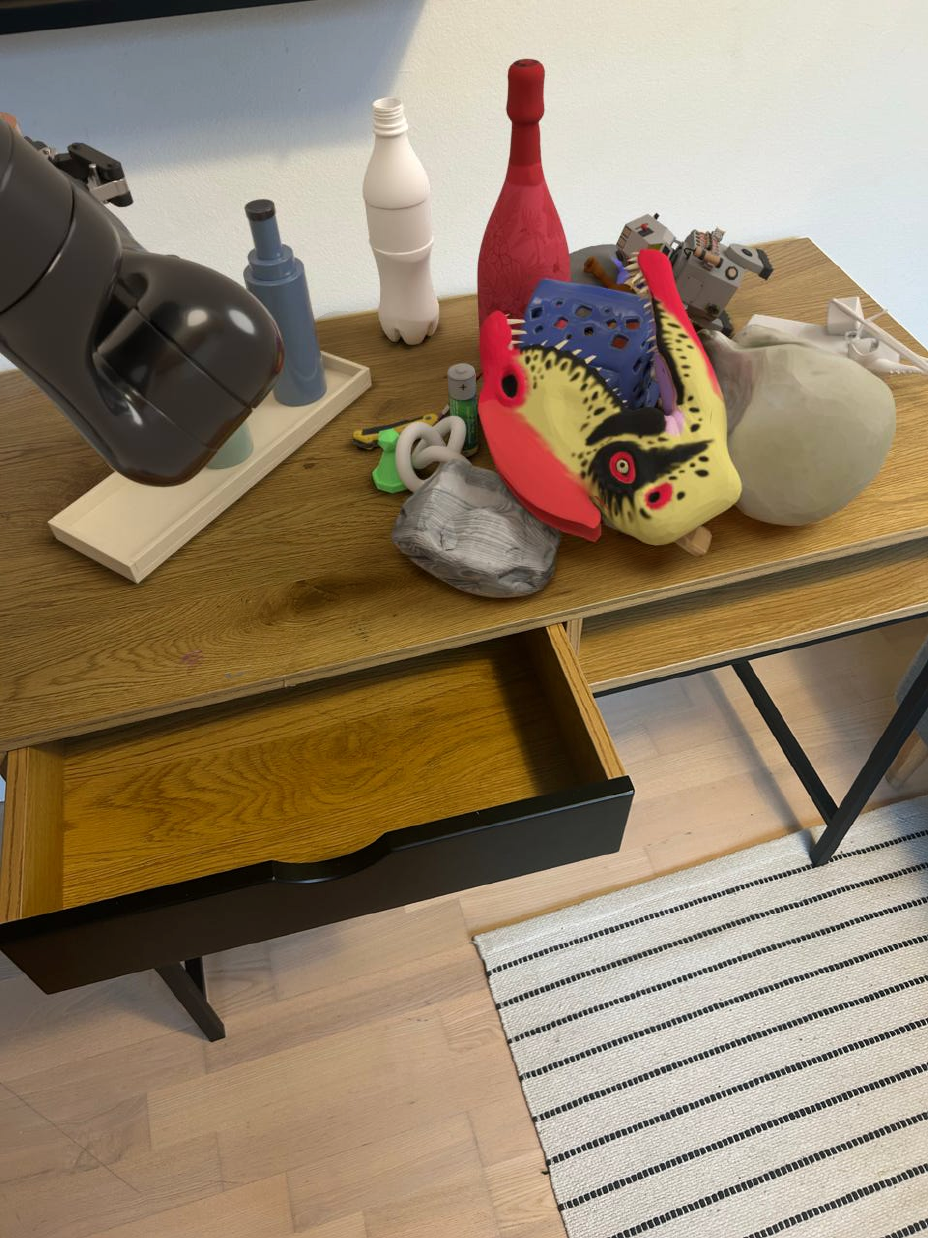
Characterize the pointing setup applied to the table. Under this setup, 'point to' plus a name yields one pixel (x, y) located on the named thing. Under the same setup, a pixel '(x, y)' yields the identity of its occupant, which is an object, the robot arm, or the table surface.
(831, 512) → the skull
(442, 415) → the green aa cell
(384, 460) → the game piece
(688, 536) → the sandal
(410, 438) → the knot
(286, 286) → the slate-blue bottle
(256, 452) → the tray
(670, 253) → the figurine
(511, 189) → the wine bottle
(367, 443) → the utility knife
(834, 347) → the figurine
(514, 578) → the decorative stone
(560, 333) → the flower pot
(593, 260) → the toy figurine
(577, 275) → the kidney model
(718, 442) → the toy
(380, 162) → the water bottle
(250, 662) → the table surface
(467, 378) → the battery
